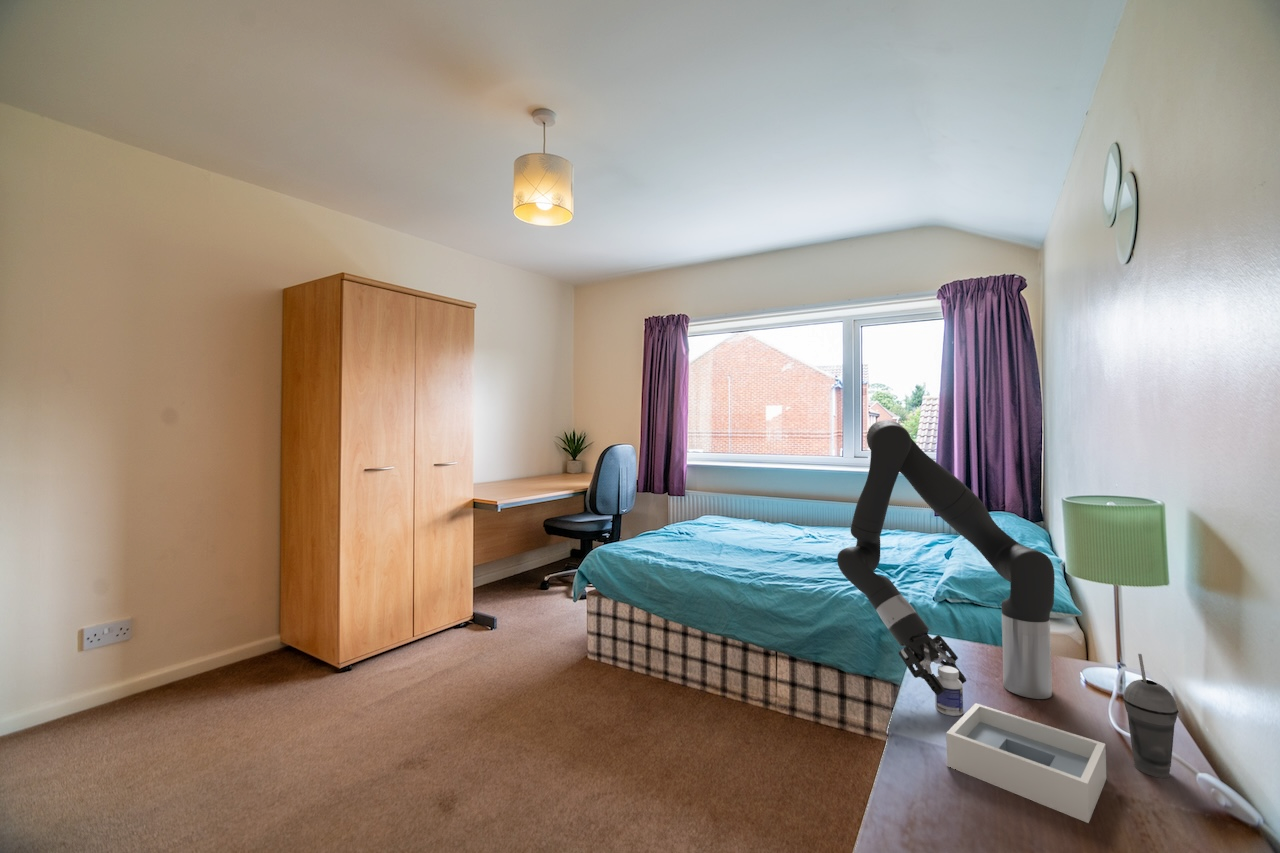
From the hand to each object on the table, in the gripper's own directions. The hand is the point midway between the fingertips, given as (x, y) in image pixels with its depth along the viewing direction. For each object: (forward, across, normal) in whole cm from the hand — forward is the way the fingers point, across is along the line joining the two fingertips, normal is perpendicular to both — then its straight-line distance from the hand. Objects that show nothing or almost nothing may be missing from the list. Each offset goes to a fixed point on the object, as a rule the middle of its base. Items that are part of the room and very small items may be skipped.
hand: (952, 688), depth 118 cm
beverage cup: (+25, +9, -18) cm, 32 cm away
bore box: (+17, -11, -9) cm, 22 cm away
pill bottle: (+3, 0, +4) cm, 5 cm away
